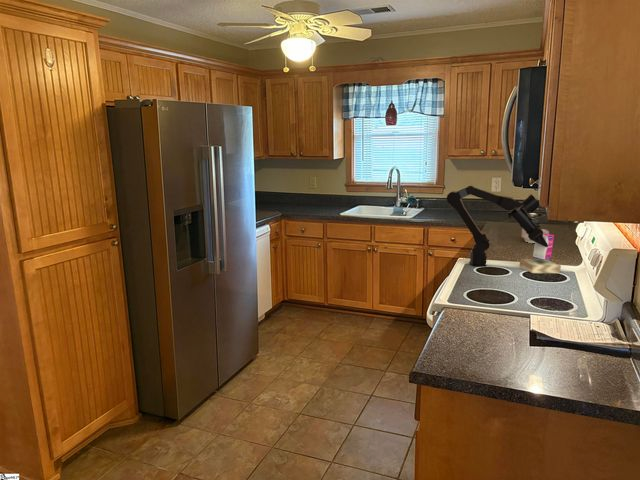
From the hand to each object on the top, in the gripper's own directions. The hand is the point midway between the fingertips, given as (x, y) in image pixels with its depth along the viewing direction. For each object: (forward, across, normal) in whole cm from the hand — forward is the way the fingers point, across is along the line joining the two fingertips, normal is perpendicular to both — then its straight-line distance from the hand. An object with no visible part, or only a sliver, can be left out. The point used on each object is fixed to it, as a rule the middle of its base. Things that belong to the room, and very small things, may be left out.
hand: (546, 245), depth 222 cm
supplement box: (+4, 0, +6) cm, 7 cm away
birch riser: (+7, +2, +10) cm, 12 cm away
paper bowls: (+9, +76, +9) cm, 77 cm away
